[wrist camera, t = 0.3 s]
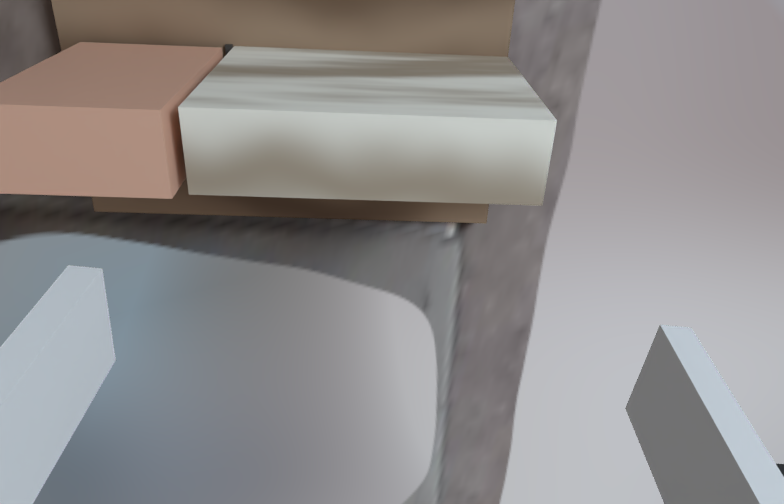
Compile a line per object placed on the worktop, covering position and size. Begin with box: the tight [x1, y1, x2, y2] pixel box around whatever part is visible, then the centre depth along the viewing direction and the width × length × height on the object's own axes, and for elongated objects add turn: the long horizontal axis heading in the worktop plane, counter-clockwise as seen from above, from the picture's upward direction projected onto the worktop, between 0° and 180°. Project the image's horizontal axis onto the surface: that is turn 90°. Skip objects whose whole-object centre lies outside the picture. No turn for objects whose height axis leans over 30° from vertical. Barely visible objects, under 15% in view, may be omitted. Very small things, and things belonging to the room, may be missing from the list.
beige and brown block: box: [51, 0, 557, 223], centre depth 34 cm, size 18×26×14 cm
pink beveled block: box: [0, 42, 223, 199], centre depth 32 cm, size 4×8×12 cm, turn 87°
